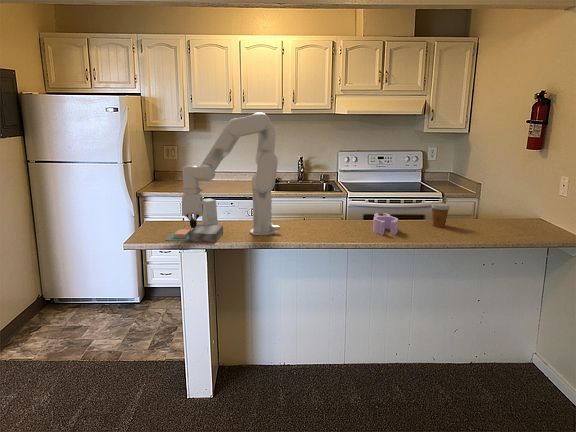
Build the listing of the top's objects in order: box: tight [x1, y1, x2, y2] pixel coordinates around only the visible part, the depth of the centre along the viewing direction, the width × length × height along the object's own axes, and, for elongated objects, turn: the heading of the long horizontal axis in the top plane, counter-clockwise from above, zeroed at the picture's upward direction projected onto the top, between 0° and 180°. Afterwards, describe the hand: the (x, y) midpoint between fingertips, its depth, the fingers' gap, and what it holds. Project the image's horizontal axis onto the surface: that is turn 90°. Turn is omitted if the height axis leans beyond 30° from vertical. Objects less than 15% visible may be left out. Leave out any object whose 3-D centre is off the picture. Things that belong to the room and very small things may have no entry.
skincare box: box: [201, 198, 219, 225], centre depth 241 cm, size 8×6×15 cm
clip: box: [372, 212, 399, 236], centre depth 235 cm, size 20×12×7 cm, turn 0°
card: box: [173, 228, 192, 238], centre depth 224 cm, size 6×9×2 cm, turn 176°
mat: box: [165, 230, 190, 242], centre depth 224 cm, size 11×16×1 cm
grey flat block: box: [188, 224, 224, 243], centre depth 222 cm, size 13×16×4 cm
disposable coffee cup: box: [430, 202, 450, 228], centre depth 243 cm, size 10×10×12 cm
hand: (193, 227), depth 222 cm, fingers closed
